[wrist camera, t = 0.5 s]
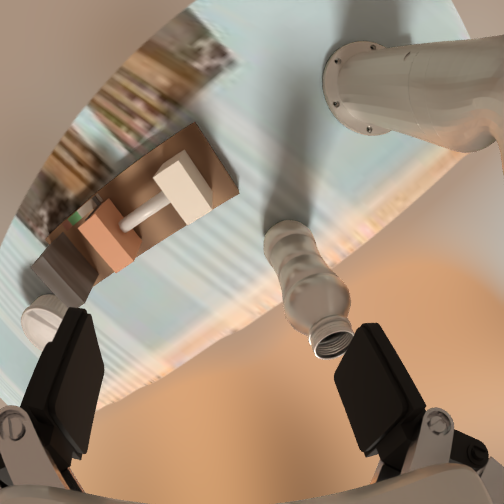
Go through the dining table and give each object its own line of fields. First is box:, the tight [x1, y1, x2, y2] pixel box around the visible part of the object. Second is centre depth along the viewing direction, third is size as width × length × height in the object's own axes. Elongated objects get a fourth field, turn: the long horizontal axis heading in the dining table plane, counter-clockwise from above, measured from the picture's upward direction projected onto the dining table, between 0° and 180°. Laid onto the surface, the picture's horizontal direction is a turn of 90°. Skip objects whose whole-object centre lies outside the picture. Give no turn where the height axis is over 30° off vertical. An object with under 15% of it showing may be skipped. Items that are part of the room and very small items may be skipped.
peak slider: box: [78, 196, 142, 273], centre depth 32 cm, size 3×8×5 cm, turn 29°
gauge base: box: [31, 122, 239, 308], centre depth 33 cm, size 26×10×8 cm, turn 119°
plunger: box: [118, 149, 213, 233], centre depth 31 cm, size 10×6×6 cm, turn 119°
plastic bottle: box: [263, 220, 354, 360], centre depth 32 cm, size 6×7×20 cm
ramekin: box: [21, 294, 68, 351], centre depth 41 cm, size 11×11×5 cm
